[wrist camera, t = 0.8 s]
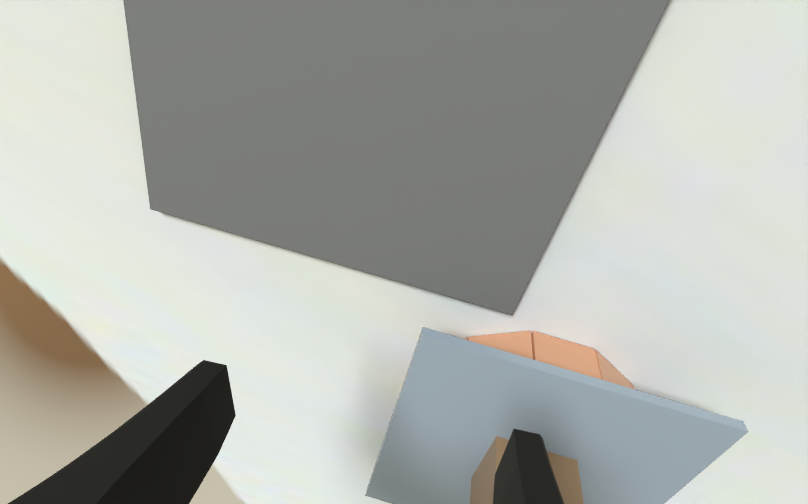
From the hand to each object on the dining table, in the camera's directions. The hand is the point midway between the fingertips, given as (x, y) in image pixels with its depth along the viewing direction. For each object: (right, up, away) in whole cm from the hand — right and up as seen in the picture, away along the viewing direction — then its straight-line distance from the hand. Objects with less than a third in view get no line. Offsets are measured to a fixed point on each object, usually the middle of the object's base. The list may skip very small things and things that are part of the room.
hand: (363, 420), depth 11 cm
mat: (0, +11, +5) cm, 12 cm away
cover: (+7, -6, +12) cm, 15 cm away
